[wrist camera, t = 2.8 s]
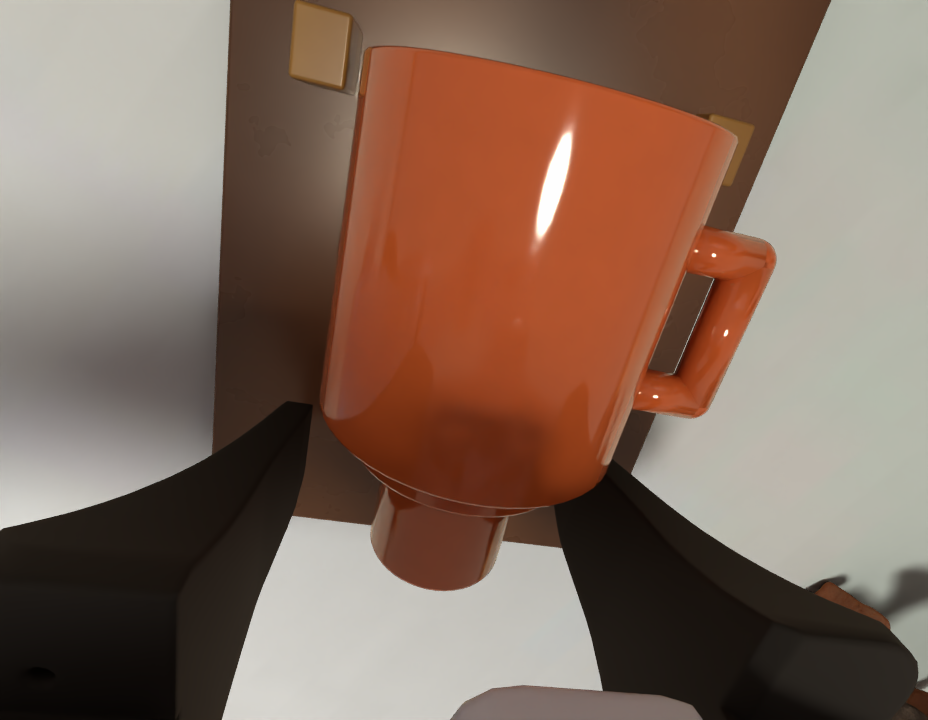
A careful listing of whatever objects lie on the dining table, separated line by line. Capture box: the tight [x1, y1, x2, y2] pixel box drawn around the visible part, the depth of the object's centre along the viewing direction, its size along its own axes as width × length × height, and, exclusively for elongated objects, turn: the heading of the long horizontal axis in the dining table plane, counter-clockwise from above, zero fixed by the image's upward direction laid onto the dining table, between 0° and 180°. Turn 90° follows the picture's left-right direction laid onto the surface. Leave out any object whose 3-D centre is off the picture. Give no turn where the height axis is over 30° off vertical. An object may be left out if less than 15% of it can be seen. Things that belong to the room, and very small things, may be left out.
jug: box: [319, 45, 777, 591], centre depth 11 cm, size 6×8×10 cm
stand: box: [212, 0, 831, 548], centre depth 12 cm, size 12×20×3 cm, turn 167°
